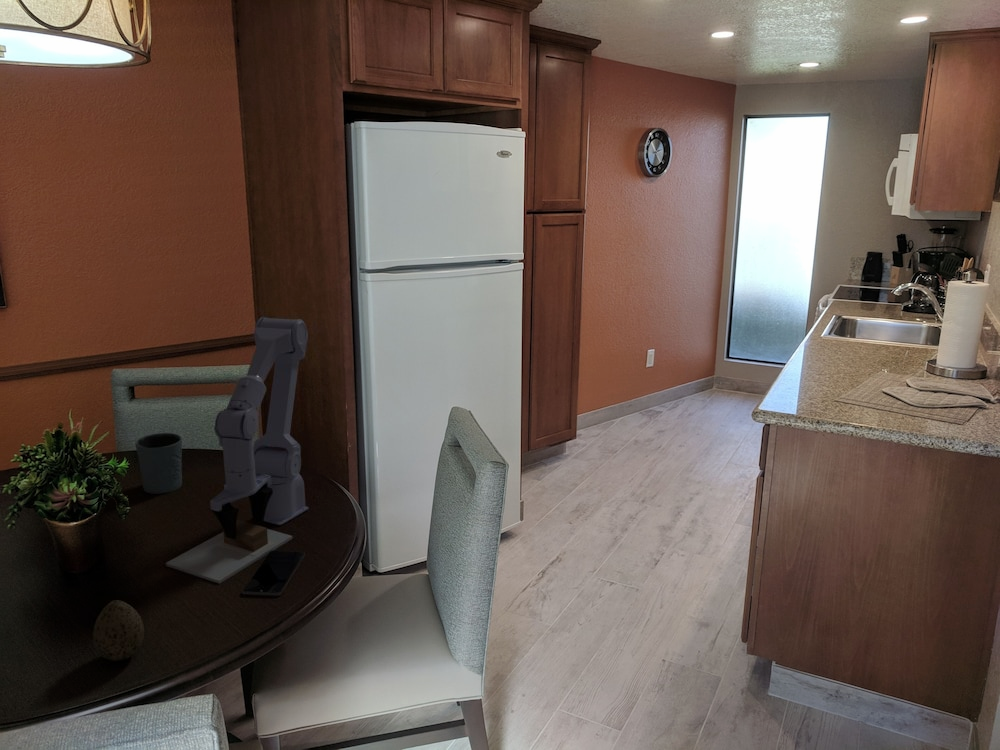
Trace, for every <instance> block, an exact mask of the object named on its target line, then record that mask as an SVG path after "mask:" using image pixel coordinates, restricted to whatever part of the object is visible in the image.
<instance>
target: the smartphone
mask: <svg viewBox="0 0 1000 750" xmlns="http://www.w3.org/2000/svg"><path fill="white" fill-rule="evenodd" d="M305 556H306V553H305V552H304V551H291V550H273V551H270V552H269V553H268V554H267V555H265V557H264V559H263V560H262V562H261V564H260V565H259V567H258V568H257V569H256V570H255V572H254V573H253V574H252V576H251V577H250V579H249V581H248V582H247V583H246V584H245V586H244V588H243V589H242V591H241V594H242V595H243V596H255V597H257V596H258V597H279V596H281V595H282V593H283V592H284V591H285V589H286V588H287V586H288V584H289V582H290V581H291V579H292V577H293V576H294V574H295V573H296V570H297V569H298V568H299V566H300V565H301V563H300V562H302V561H303V560H304V557H305Z"/></svg>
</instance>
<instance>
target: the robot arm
mask: <svg viewBox="0 0 1000 750" xmlns="http://www.w3.org/2000/svg"><path fill="white" fill-rule="evenodd" d="M253 337H254V343H255V345H256V347H255V350H254V352H253V355H252V357H251V361H250V365H249V367H248V371H247V373H246V375H245V376H242V377H241V378H239V379H238V381H237V383H236V385H235V388H234V390H233V392H232V394H231V397H230V399H229V401H228V404H227V406H226V408H224V409H223V410H220V411H219V412H218V413H217V415H216V416H215V417H216V418H215V421H214V426H213V429H214V430H213V431H214V434H215V435H216V437H217V438H218V444H219V446H220V447H222V452H223V453H222V455H223V466H224V477H225V484H224V485H223V490H222V491H221V492H220V493H219V494H217V496H214V498H212V499H210V501H209V502H210V503H209V504H210V505H209V506H210V510H211V512H212V513H213V514H214V516H215V517H216V518H217V520H218V521H219V523H220V525H221V527H222V531H223V530H224V532H225V535H226V537H228V538H231V539H235V538H236V534H237V530H236V521H237V520H238V514H239V511H240V509H239V508H236V507H233V505H232V503H235V502H236V501H238V500H239V499H243V498H247V497H248V499H249V502H250V507H251V515H252V519H253V522H255V523H258V524H263V523H264V522H266V523H269V524H273V525H276V526H282V525H284V524H285V523H287V522H288V521H290V520H293V519H295V518H296V517H298V516H299V515H301V514H302V513H304V512H306V511H308V510H309V506H306V497H305V496H306V494H305V492H306V491H305V482H304V479H303V477H302V476H301V474H300V471H301V467H302V457H301V447H302V446H301V445H300V443H298V441H297V440H295V438H293V436H291V435H290V434H291V426H292V419H293V413H294V412H293V411H294V404H295V397H296V387H297V379H298V374H299V373H298V372H299V371H298V370H299V364H300V361H302V360H304V359H305V358H306V352H307V347H308V346H307V345H308V338H309V332H308V328H307V324H306V323H305V321H303V319H301V318H296V319H291V318H274V317H272V318H271V317H264V316H261V317H260V318H258V319H257V321H256V323H255V326H254V331H253ZM273 366H274V369H273V379H272V385H271V392H270V401H269V406H268V407H269V409H268V416H267V424H266V430H265V434H263V435H262V436H260V437H259V438H258V439H256V440H255V441H254V437H255V435H256V433H257V431H258V425H259V417H260V413H259V409H260V407H261V405H262V402H263V399H264V397H265V395H266V392H267V386H266V385H265V383H264V382H265V380H266V379H267V377H268V375H269V372H270V371H271V369H272V367H273ZM272 447H273V448H272ZM276 448H283V449H276Z"/></svg>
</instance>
